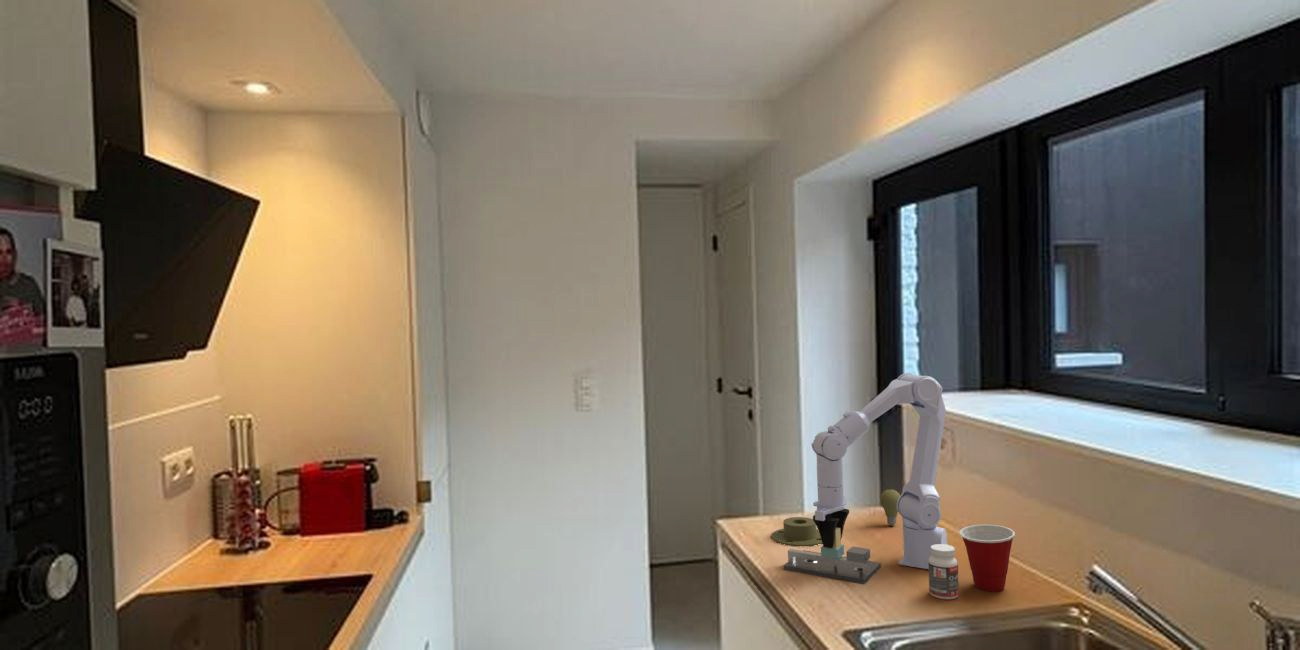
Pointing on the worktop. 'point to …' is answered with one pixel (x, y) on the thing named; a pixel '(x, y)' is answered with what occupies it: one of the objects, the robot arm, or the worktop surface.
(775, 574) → the worktop surface
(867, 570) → the rail
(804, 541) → the flange
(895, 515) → the light bulb
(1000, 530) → the plastic cup
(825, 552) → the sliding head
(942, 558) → the pill bottle
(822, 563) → the hole plate
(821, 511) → the robot arm
